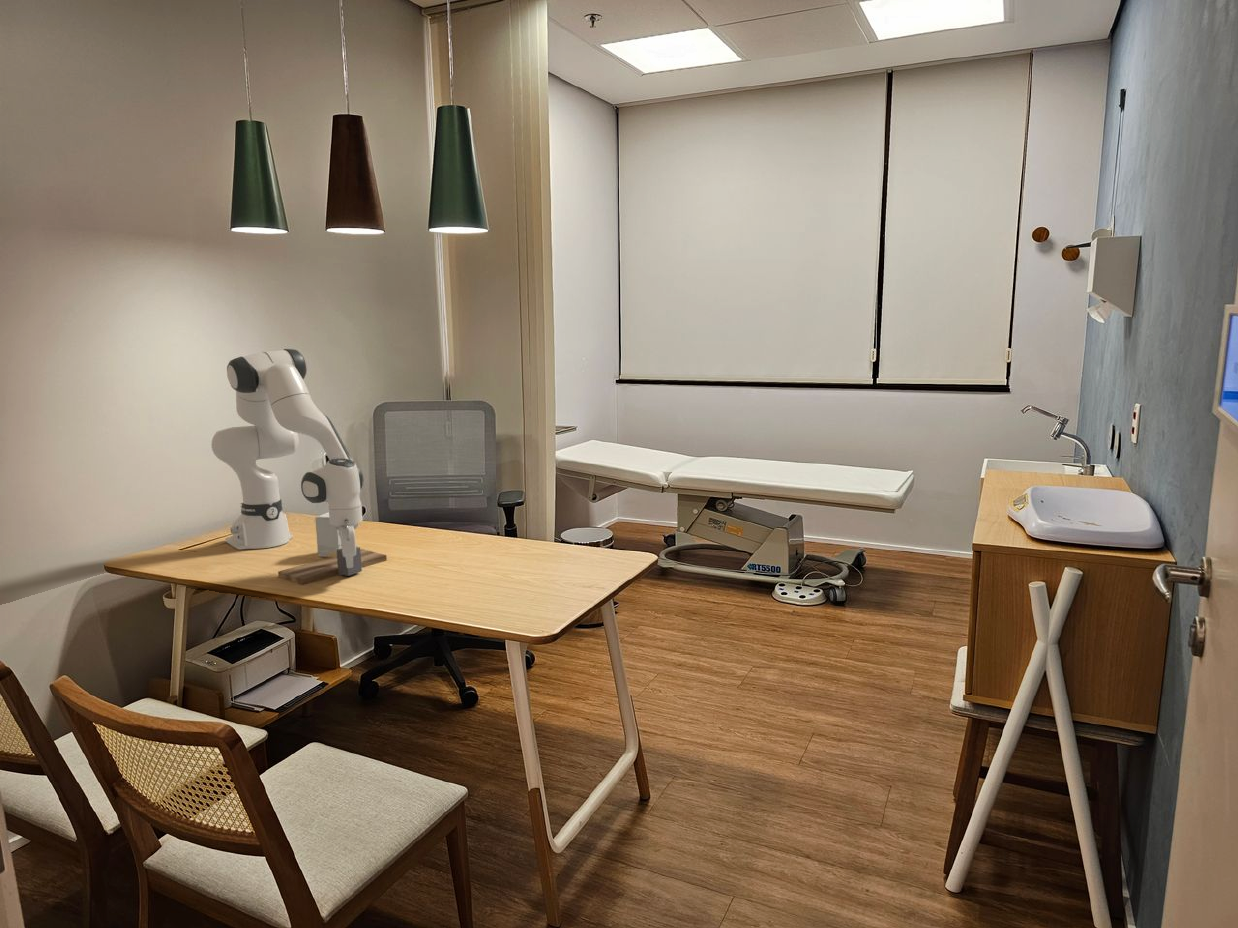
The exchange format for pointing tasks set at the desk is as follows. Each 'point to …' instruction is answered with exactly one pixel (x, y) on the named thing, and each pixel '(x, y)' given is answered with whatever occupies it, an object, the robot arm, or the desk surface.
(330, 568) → the plank
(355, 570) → the gray-headed mallet
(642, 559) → the desk surface
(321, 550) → the supplement box
